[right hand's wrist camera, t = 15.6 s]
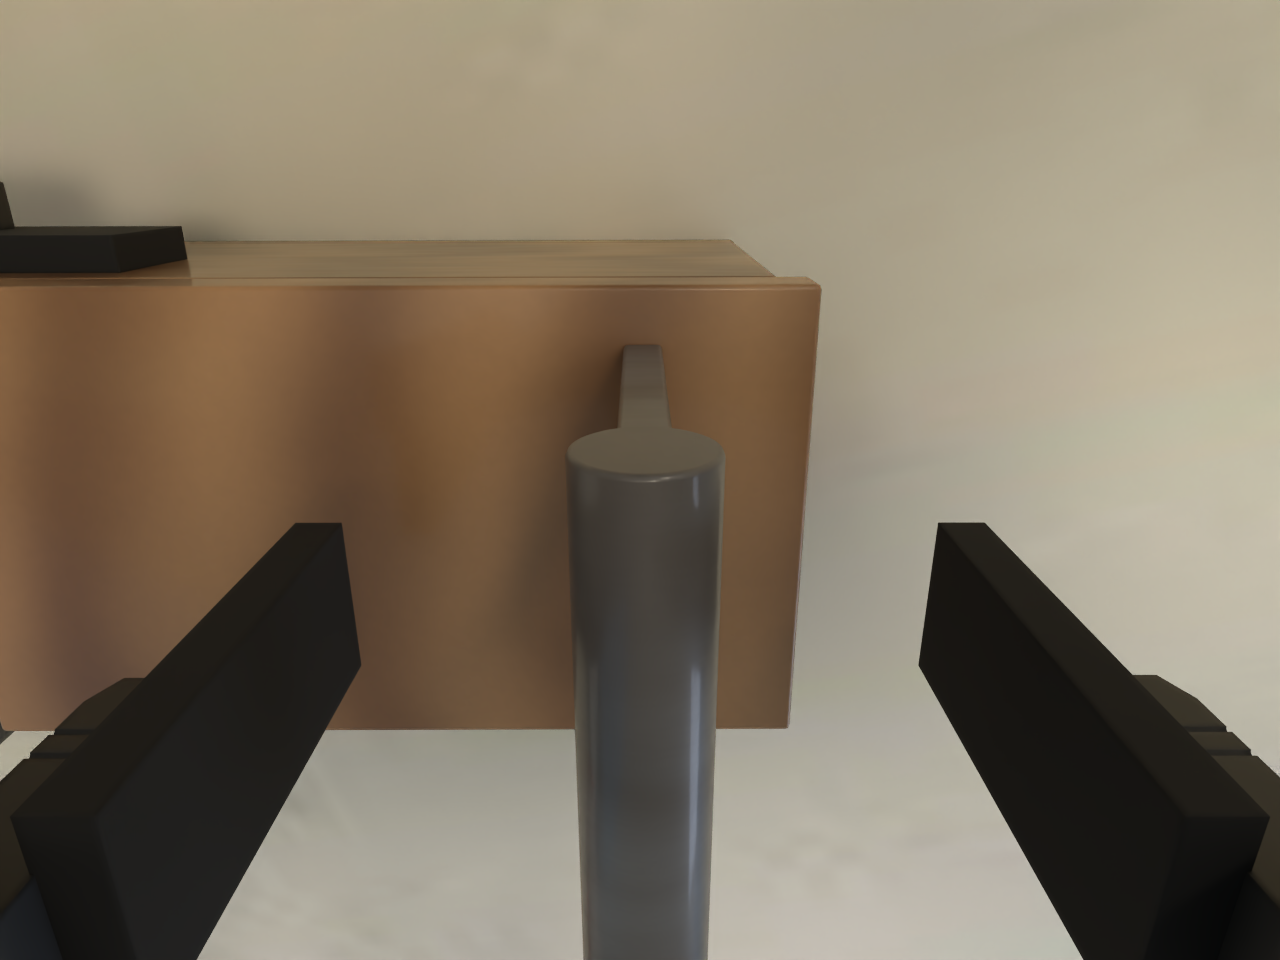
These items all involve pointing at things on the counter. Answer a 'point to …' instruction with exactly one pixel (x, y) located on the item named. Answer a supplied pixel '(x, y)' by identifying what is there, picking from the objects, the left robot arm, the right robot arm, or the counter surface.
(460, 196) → the counter surface
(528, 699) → the lid
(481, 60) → the counter surface
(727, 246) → the chest
